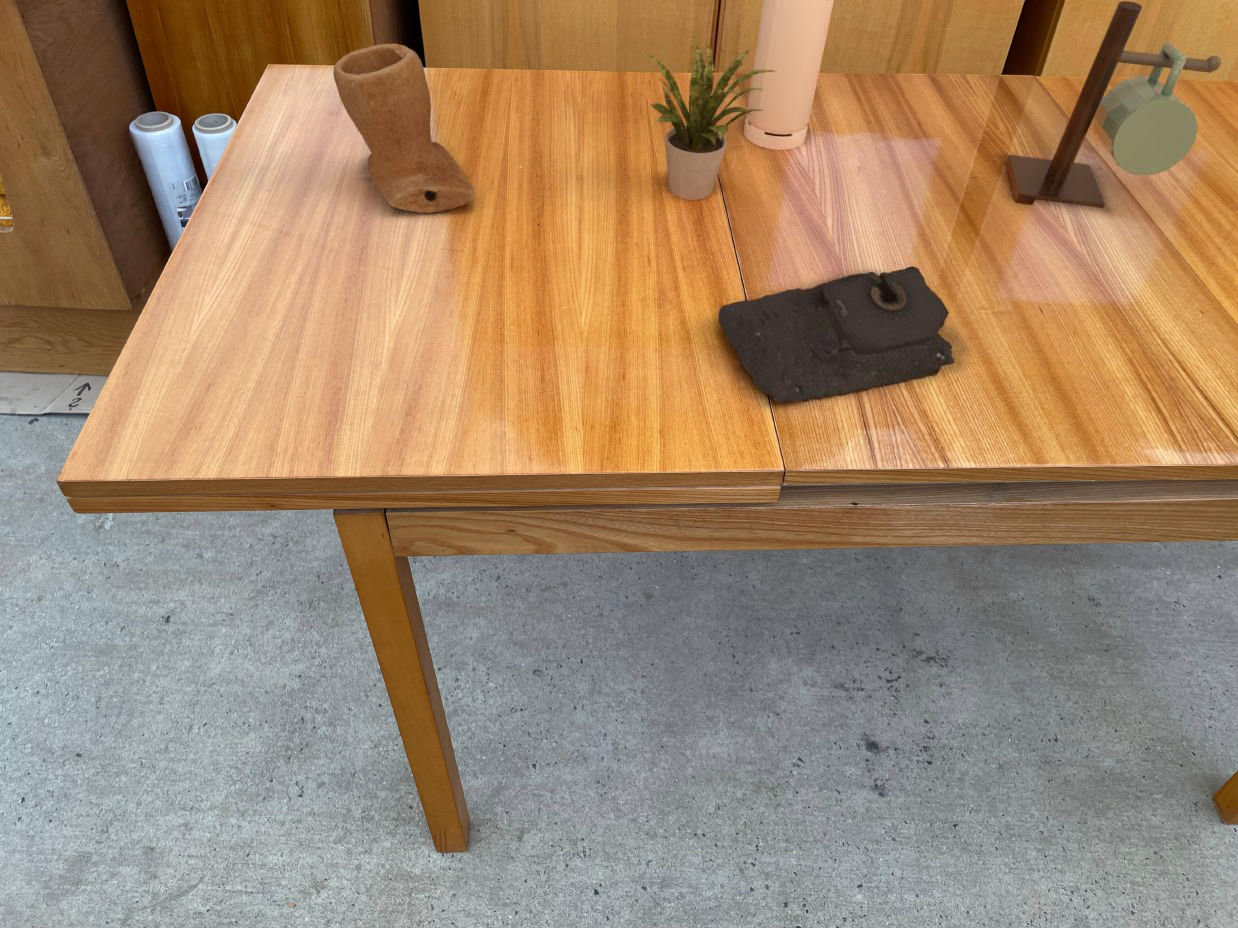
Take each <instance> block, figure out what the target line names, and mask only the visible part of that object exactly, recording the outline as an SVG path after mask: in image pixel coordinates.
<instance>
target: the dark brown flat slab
mask: <svg viewBox="0 0 1238 928" xmlns="http://www.w3.org/2000/svg"><path fill="white" fill-rule="evenodd" d="M925 279H926V278H925V277H924V275H923V274H922V272H921V271H920V268H918V267H916V266H908V267H905V268H903V269H901V268H900V269H897V270H892V271H891V272H881V273H880V274H877V273H876V272H874V271H869V272H865V273H863V272H861V273H855V274H850V275H847V276H843V277H840V278H837V279H833V280H830V281H826V282H824V283H821V284H819V285H816V286H813V287H812V288H811V287H810V288H805V289H802V288H795V289H786V290H784V291H779V292H777V293H774V294H773V293H772V294H766V295H764V296H762V297H759V298H754V299H750V300H748V299H745V300H740V301H735V302H731V303H729V304H724V305H722V306H720V308H719V311H718V315H717V316H718V317H717V319H718V323H719V325H720V327H721V328H722V330H723V331H724V333H725V335H726V338H727V342H728V343H729V345H730V346H731V347H732V348H733V350H734V351H735V353H737V356H738V358H739V361H740V363H741V366H742V368H743V369H744V370H745V371H746V372H747V374H748V376H749V377H750V378H751V379H752V380H753V381H754V384H755V385H756V387H757V388H758V389H759V390H761V391H762V393H763V394H765V395H766V396H768V397H770V398H772V399H773V400H774V402H775V403H786V402H789V403H792V402H800V401H801V402H802V401H804V402H808V401H810V400H821V399H823V398H831V397H835V396H845V395H849V394H853V393H857V392H859V393H860V392H862V391H863V392H865V391H869V390H870V389H876V388H881V387H885V386H891V385H893V384H896V383H903V382H906V381H911V380H913V379H918V378H921V379H923V378H926V377H927V376H932V375H935V374H938V373H939V372H940V371H941V368H942V367H943V366H950V365H953V364H955V358H954V357H953V355H952V354H953V350H952V349H953V346H952V345H951V342H949V341H948V340H946V339H945V338H944V337H942V335H940V334H939V331H940V329H941V328H943V327H944V326H945V323H946V320H947V318H948V315H950V312H949V310H948V309H947V307H946V305H945V303H944V302H943V300H942V299H941V298H940V297H939V296H938V295H937V293H936V292H934V290H932V288H931V287H930V286H929V285H928V284H927V282H926V280H925Z"/></svg>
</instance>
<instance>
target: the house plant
mask: <svg viewBox="0 0 1238 928" xmlns="http://www.w3.org/2000/svg"><path fill="white" fill-rule="evenodd" d="M692 48H693V50H694V53H693V60H692V68H691V75H690V81H689V82H690V83H689V96H688V108H687V106H686V103H685V101H684V99H683V97H682V94H681V91H680V89H679V86H678V83H677V82H676V80H675V78H674V76H673V75H672V73H671V71H670V70H669V69H668V68H667V67H666V66H665V65H664V64H663V63H662V62H661V61H659V59H658V58H656V57H655V56H653V55H651V54H648V53H646V56H648V57H649V58H650V60H652V61H653V62H654V64H655V65H656V66H657V67H658V69H659V70H660V72H661V73H662V75H663V76H664V78H665V80H666V82H667V83H666V82H665V81H664V80H662V79H661V78H657V79H658V80H659V81H660V82H661V83H662V84H663V85H664V86H665V87H666V88H665V87H663V86H662V91H663V94H664V100H665V103H666V105H664V104H662V103H651V104H650V106H651V107H652V108H653V109H654V110H655V111H657V112H659V114H661V115H660V117H659V118H658V119H657V120H656V122H655V123H654V125H656V124H657V123H670V124H671V125H672V127H673V128H671V129H669V130H668V131H667V133H666V134H665V137H664V140H665V152H666V153H665V155H666V167H667V168H666V169H667V181H668V189H669V192H670V193H671V194H672V195H674V196H676V197H678V198H680V199H682V200H688V201H699V200H703V199H706V198H709V197H710V196H711V195H712V194H713V190H714V187H715V183H716V180H717V177H718V174H719V171H720V168H721V164H722V162H723V158H724V154H725V151H726V148H727V145H728V139H727V138H726V136H725V135H726V133H727V132H728V131H729V126H730V125H731V124H732V123H734V122H735V121H737V120H738V119H740V118H741V117H743V116H745V115H747V113H749V112H752V111H763V110H760V109H749V110H747V108H746V109H745V108H744V107H741V106H732V107H730V106H731V104H733V103H734V102H735V100H737V99H738V98H740V97H741V96H742V95H745V94H747V93H748V92H749V93H750V91H751V90H763V89H760V88H750V87H748V88H745V89H743V90H741V91H739V92H737V91H736V90H735V88H737V87H738V86H739V85H740V84H742V83H743V82H744V81H746V80H748V79H750V78H752V76H754V75H756V74H759V73H766V72H775V71H774V70H755V71H753V70H752V71H749V72H747V73H745V74H743V75H741V76H740V77H738V78H737V79H736V80H735V81H734V82H732V84H731V82H730V81H731V80H732V78H733V77H734V75H735V74H736V72H737V70H738V69H739V68H740V67H741V66H742V65H743V64H744V62H743V59H744V58H745V57H746V56H747V55H748V54H749V52H750V49H748V50H746V51H744V52H742V53H741V54H740V55H738V56H737V57H736V58H734V60H733V61H732V62H731V63H730V64H729V66H728V67H727V68H726V70H725V71H724V72H723V74H722V75H721V77H720V79H719V80H718V81H717V83H716V86H715V88H714V72H715V71H717V70H718V69H719V68H721V67H722V66H723V65H724V64H721V65H720V66H718V67H716V68H714V58H713V52H712V48H711V46H710V44H709V40H708V39H707V40H706V63H705V60H704V57H703V49H702V47H701V46H700V42H698V43H697V44H696V47H692ZM778 72H779V71H778ZM729 82H730V83H729ZM729 85H730V86H729ZM727 87H728V89H727V90H726V88H727ZM667 89H668V90H669V92H668V90H667ZM713 89H714V90H713ZM670 94H671V95H670ZM730 94H732V95H735V96H734V97H733V98H732V99H730V100H729V102H728V103H727V104H726V106H724V107H723V109H722V110H721V111H720V112H719V113H718V114H717V115H716V113H717V111H718V109H719V108H720V106H721V105H722V104H723V102H724V100H725V98H727V97H728V96H729V95H730ZM671 96H673V98H674V100H675V101H676V103H677V105H678V107H679V110H680V113H681V114H680V113H679V111H678V108H677V106H676V105H675V103H674V101H673V99H672V98H671ZM764 111H765V110H764ZM733 113H734V114H735V113H737V114H736V115H735V116H733V117H732V118H731V119H730V120H729V121H728V122H726V123H724V124H719V125H717V123H718V122H719V121H721V120H722V119H723V118H725V117H726V116H728V115H730V114H733ZM749 114H750V113H749ZM681 115H682V116H681ZM715 115H716V116H715ZM751 115H752V114H751ZM683 119H684V120H683ZM684 121H685V122H684ZM685 123H686V124H685Z"/></svg>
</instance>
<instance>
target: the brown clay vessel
mask: <svg viewBox="0 0 1238 928" xmlns="http://www.w3.org/2000/svg"><path fill="white" fill-rule="evenodd" d="M332 74H333V79H334V83H335V86H336V89H337V92H338V95H339V98H340V100H341V103H342V105H343V108H344V109H345V111H346V114H347V115H348V116H349V119H351V121H352V123H353V125H354V126H355V128H356V129H357V131H358V132H359V134H360V135H361V137H362V139H363V141H364V142H365V144H366V146H367V149H368V150H369V152H370V154H369V155H368V157H367V168H368V173H369V175H370V177H371V179H372V181H373V182H374V184H375V185H376V187H377V188H378V190H379V191H380V193H381V195H382V196H383V198H384V199H385V201H386V203H388V205H389V206H390V207H392V208H395V209H398V210H403V211H408V212H412V213H422V214H434V213H440V212H441V213H442V212H445V211H449V210H454V209H456V208H460V207H462V206H464V205H467V204H468V203H470V202H472V201H473V200H475V198H476V196H477V193H476V191H475V189H474V187H473V184H471V182H470V180H469V178H468V177H467V175H465V172H463V171H462V169H461V167H460V166H459V165H460V164H458V163H457V161H456V159H455V158H454V157H453V156H452V154H451V153H450V152H449V150H447V149H446V147H445V146H443V145H442V144H441V143H440V142H437V141H432V131H431V115H432V101H431V94H430V89H429V86H428V81H427V78H426V73H425V69H424V66H423V63H422V60H421V58H420V57H419V55H418V54H417V53H416V51H414V50H413V49H411V48H409V47H407V46H406V45H403V44H398V43H381V44H376V45H372V46H369V47H364V48H359V49H356V50H353V51H351V52H349V53H347V54H345V55H343V56H342V57H341V58H340V59H338V61H337V60H336V63H335V64H334V66H333V73H332Z"/></svg>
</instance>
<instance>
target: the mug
mask: <svg viewBox="0 0 1238 928" xmlns="http://www.w3.org/2000/svg"><path fill="white" fill-rule="evenodd" d="M1158 55H1167V56H1168V57H1169V58H1170V59H1171V60H1172V61H1174V64H1173V66H1172V68H1170V71H1169V73H1168V75H1167V78H1166V80H1165V82H1163V81H1161V80H1160V77H1161V74H1162V72H1163V70H1164V67H1155V66H1152V69H1151V71H1150V73H1149V76H1146V75H1145V76H1143V75H1139V76H1135V77H1132V78H1129V79H1128V78H1127V79H1124V80H1122V81H1120V82H1119V83H1118V84H1116V85H1114V86H1113V87H1112V88H1110V89H1109V90H1108V91H1107V92H1106V93H1105V94H1104V95H1103V98H1102V100H1101V102H1100V104H1099V107H1098V109H1097V111H1096V113H1095V116H1094V118H1093V132H1094V133H1095V135H1096V137H1097V138H1098V140H1099V142H1100V143H1101V145H1102V146H1103V147H1104V148H1105V150H1106V151H1107V153H1108V154H1109V155H1110V157H1111V158H1112V159H1113V161H1114V162H1115V164H1116V165H1117V166H1118V167H1120V169H1122V170H1123V171H1125V172H1126V173H1128V174H1131V175H1134V176H1140V177H1142V176H1143V177H1145V176H1153V175H1157V174H1161V173H1163V172H1166V171H1167V170H1169V169H1171V168H1173V167H1175V166H1177V164H1179V163H1180V162H1181V161H1182V160H1183V159H1184V158H1185V157H1186V156H1187V155H1188V154H1189V152H1190V151H1191V149H1192V147H1193V146H1194V144H1195V142H1196V138H1197V135H1198V129H1199V128H1198V119H1197V116H1196V114H1195V113H1194V111H1193V110H1192V108H1191V107H1190V106H1189V105H1188V104H1187V103H1186V102H1185V101H1184V100H1183V99H1182V98H1181V97H1180V96H1179V95H1178V94H1176V93H1175V91H1174V89H1175V86H1176V84H1177V82H1178V80H1179V78H1180V75H1181V73H1182V71H1183V70H1182V69H1183V66H1184V64H1185V62H1186V58H1187V56H1186V55H1185V54H1184V53H1183V52H1181V51H1180V50H1179V49H1178V48H1177V47H1175V46H1174V45H1173V44H1171V43H1170V42H1167V43H1163V45H1162V46H1161V48H1160V50H1159V53H1158Z"/></svg>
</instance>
